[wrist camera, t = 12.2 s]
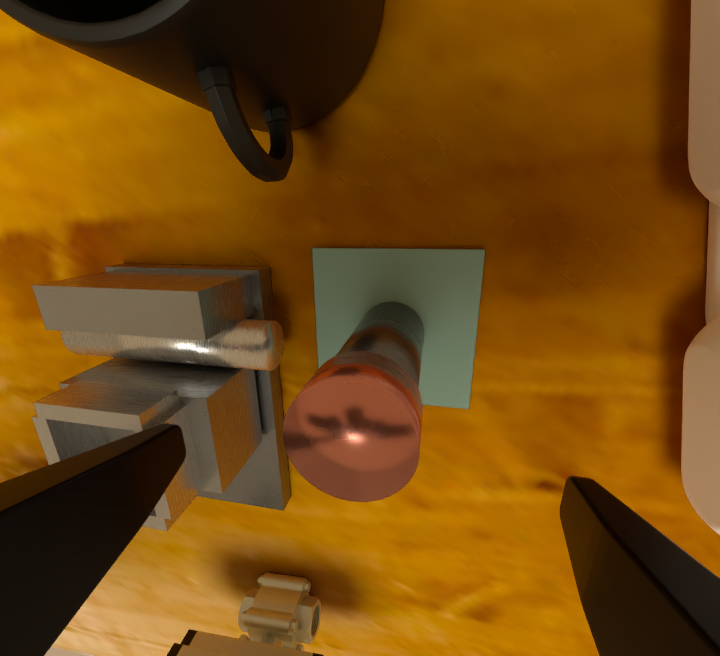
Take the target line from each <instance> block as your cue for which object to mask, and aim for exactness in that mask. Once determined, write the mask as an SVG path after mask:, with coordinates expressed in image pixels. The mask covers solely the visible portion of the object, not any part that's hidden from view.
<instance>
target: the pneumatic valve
mask: <svg viewBox="0 0 720 656" xmlns="http://www.w3.org/2000/svg"><path fill="white" fill-rule="evenodd" d="M258 584H259V586H261V587H260V588H252V589H251V590H249V591H248V592H247V593H246V595H245V596H244V598H243V601H242V603H241V606H240V610H239V616H238V623H239V627H240V628H241V630H242V631H243V632H248V633H249V637H250V638H248V637H247V636H246V635H244V634H243V635H241V636H240V638H239V639H237V638H232V637H227V636H222V635H216V634H211V633H206V632H201V631H195V630H190V629H189V630H188V632H187V634H186V636H185V637H184V639H183V641H182V642H181V644H177V643H174V644H173V646H172V648H171V649H170V651H169V653H168V654H167V656H324V655H321V654H316V653H311V652H305V651H303V650H304V647H303V645H301V642H303V643H308V644H310V643H311V642H313V641H314V639H315V638H316V635H317V632H318V629H319V624H320V618H321V603H320V600H319V599H318V597H313V596H309V591H310V587H311V583H310V582H309V581H308V580H307V578H303V577H296V576H289V575H281V574H274V573H267V572H266V573H265V574H264V575H261V576H260V577H259V578H258Z"/></svg>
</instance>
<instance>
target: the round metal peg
mask: <svg viewBox="0 0 720 656" xmlns="http://www.w3.org/2000/svg"><path fill="white" fill-rule="evenodd" d="M423 343H424V326H423V323H422V320H421V318H420V317H419V315H418V314H417V313H416V312H415V311H414V310H413V309H412V308H410V307H409V306H407V305H405V304H403V303H399V302H393V301H391V302H383V303H380V304H377V305H375V306H374V307H372V308H371V309H370V310H369V311H368V312H367V313H366V315H365V316H364V317H363V319H362V320H361V322H360V323H359V324H358V326H357V327H356V328H355V330H354V331H353V333H352V334H351V335H350V337H349V338H348V340H347V341H346V342H345V344H344V345H343V347H342V348H341V349H340V351H339V352H338V353H337V355H336V356H334V357H332V358H331V359H329V360H327V361H326V362H325V363H324V364H323V365H322V366H321V367H320V368H319V369H318V370H317V371H316V373H315V374H314V375H313V377H312V378H311V379H310V380H309V382H308V383H307V384H306V386H305V387H304V388H303V389H302V391H301V392H300V393H299V395H298V396H297V397H296V399H295V400H294V401H293V402H292V404H291V405H290V407H289V408H288V411H287V413H286V415H285V419H284V422H283V441H284V446H285V449H286V452H287V454H288V456H289V459H290V460H291V462H292V464H293V465H294V467H295V468H296V469H297V471H298V472H299V473H300V474H301V475H302V476H303V477H304V478H305V479H306V480H307V481H308V482H309V483H310V484H312V485H313V486H315V487H316V488H318V489H319V490H321V491H323V492H325V493H327V494H329V495H331V496H334V497H337V498H340V499H344V500H349V501H356V502H368V501H376V500H380V499H384V498H386V497H389V496H391V495H393V494H395V493H397V492H398V491H399V490H401V489H402V488H403V487H404V486H405V485H406V484H407V483H408V482H409V481H410V479H411V478H412V477H413V475H414V473H415V471H416V468H417V465H418V461H419V452H420V439H421V426H422V413H423V404H422V398H421V395H420V391H419V389H418V387H419V378H420V370H421V361H422V352H423Z"/></svg>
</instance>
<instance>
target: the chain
mask: <svg viewBox="0 0 720 656" xmlns="http://www.w3.org/2000/svg"><path fill="white" fill-rule="evenodd" d="M688 164H689V171H690V175H691V178H692V180H693V182H694V184H695V186H696V187H697V188H698V190H699V191H700V192H701V193H702V194H703V195H704V196H705V197H706V198H707V199H708V200H709V223H708V250H707V276H706V300H705V318H706V326H705V327H704V328H703V329H702V330H701V331H700V332H699V333H698V334H697V335H696V336H695V338H694V339H693V340H692V342H691V343H690V345H689V347H688V348H687V350H686V353H685V357H684V364H683V400H682V447H681V477H682V483H683V487H684V490H685V493H686V495H687V498H688V500H689V501H690V503H691V505H692V506H693V508H694V509H695V511H696V512H697V513H698V515H699V516H700V517H701V518H702V519H703V520H704V521H705V523H706V524H707V525H708V526H710V527H711V528H712V529H713V530H714V531H715V532H716V533H718V534H719V535H720V0H691V28H690V75H689V121H688Z"/></svg>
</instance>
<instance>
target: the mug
mask: <svg viewBox="0 0 720 656" xmlns="http://www.w3.org/2000/svg"><path fill="white" fill-rule="evenodd" d="M384 1H385V0H0V9H1V10H2V11H3V12H5V13H6V14H8V15H9V16H10V17H12V18H13V19H15V20H16V21H18V22H20V23H21V24H23V25H25V26H26V27H28V28H30V29H32V30H33V31H35V32H37V33H38V34H40V35H42V36H44V37H47V38H49V39H51V40H53V41H55V42H58V43H60V44H62V45H64V46H67V47H69V48H71V49H73V50H75V51H78V52H80V53H82V54H84V55H86V56H89V57H91V58H93V59H95V60H98V61H100V62H102V63H104V64H106V65H109V66H111V67H113V68H115V69H117V70H120V71H122V72H124V73H126V74H129V75H131V76H133V77H135V78H137V79H140V80H142V81H144V82H146V83H148V84H151V85H153V86H155V87H157V88H160V89H162V90H164V91H166V92H168V93H171V94H173V95H175V96H177V97H180V98H182V99H184V100H186V101H188V102H191V103H193V104H195V105H197V106H199V107H202V108H204V109H206V110H208V111H211V112H212V113H213V115H214V118H215V120H216V123H217V125H218V127H219V129H220V131H221V133H222V135H223V136H224V138H225V140H226V142H227V143H228V145H229V147H230V148H231V150H232V152H233V153H234V154H235V156H236V157H237V159H238V160H239V161H240V162H241V163H242V165H243V166H244V167H245V168H246V169H247V170H248V171H249V172H250V173H251V174H252V175H253V176H255V177H256V178H258V179H260V180H262V181H265V182H274V181H280V180H283V179H284V178H285V177H286V176H287V173H288V171H289V168H290V166H291V163H292V158H293V141H292V134H291V130H292V129H297V128H300V127H303V126H305V125H307V124H310V123H312V122H314V121H316V120H317V119H319V118H321V117H322V116H324V115H325V114H327V113H328V112H329V111H331V110H332V109H333V108H334V107H335V106H336V105H337V104H338V103H339V102H340V101H341V100H342V99H343V98H344V97H345V96H346V95H347V94H348V92H349V91H350V90H351V89H352V87H353V86H354V85H355V83H356V82H357V80H358V78H359V77H360V75H361V73H362V72H363V70H364V68H365V66H366V64H367V62H368V60H369V57H370V55H371V53H372V51H373V48H374V46H375V42H376V39H377V35H378V32H379V28H380V24H381V19H382V13H383V7H384ZM250 128H251V129H255V130H260V131H266V132H269V133H270V142H271V146H270V152H269V155H268V154H267V153H266V152H265V151H264V149H263V148H262V147H261V146H260V144H259V143H258V141H257V140H256V138H255V137H254V135H253V133H252V131H251V130H250Z"/></svg>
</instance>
